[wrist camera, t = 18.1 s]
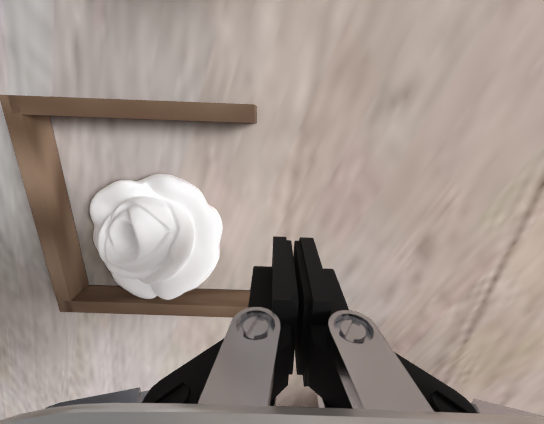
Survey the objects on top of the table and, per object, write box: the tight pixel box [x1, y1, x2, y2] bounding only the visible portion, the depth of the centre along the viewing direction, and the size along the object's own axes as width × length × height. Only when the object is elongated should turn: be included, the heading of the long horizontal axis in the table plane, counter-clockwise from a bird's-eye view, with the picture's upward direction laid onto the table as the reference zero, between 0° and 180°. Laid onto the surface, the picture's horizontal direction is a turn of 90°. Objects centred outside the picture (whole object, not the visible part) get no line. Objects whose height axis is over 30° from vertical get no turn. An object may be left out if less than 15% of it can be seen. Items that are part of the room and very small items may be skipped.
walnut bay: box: [0, 95, 257, 317], centre depth 18 cm, size 15×14×2 cm
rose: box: [90, 174, 222, 300], centre depth 18 cm, size 10×4×10 cm
